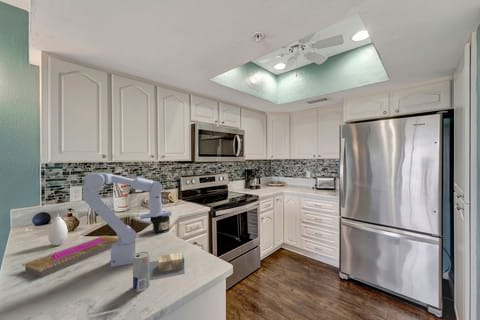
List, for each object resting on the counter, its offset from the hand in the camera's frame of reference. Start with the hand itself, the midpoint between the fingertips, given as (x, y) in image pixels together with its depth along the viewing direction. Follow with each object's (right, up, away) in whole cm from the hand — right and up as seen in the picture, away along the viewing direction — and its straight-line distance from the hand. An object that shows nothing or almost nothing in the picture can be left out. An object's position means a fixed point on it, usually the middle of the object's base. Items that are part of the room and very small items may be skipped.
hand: (157, 231), depth 99 cm
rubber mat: (+9, -10, -17) cm, 22 cm away
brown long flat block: (-37, -12, -4) cm, 39 cm away
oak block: (+8, -8, -17) cm, 20 cm away
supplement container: (-10, -11, +31) cm, 35 cm away
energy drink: (+7, -10, -29) cm, 32 cm away
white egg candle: (-60, -12, +10) cm, 62 cm away
